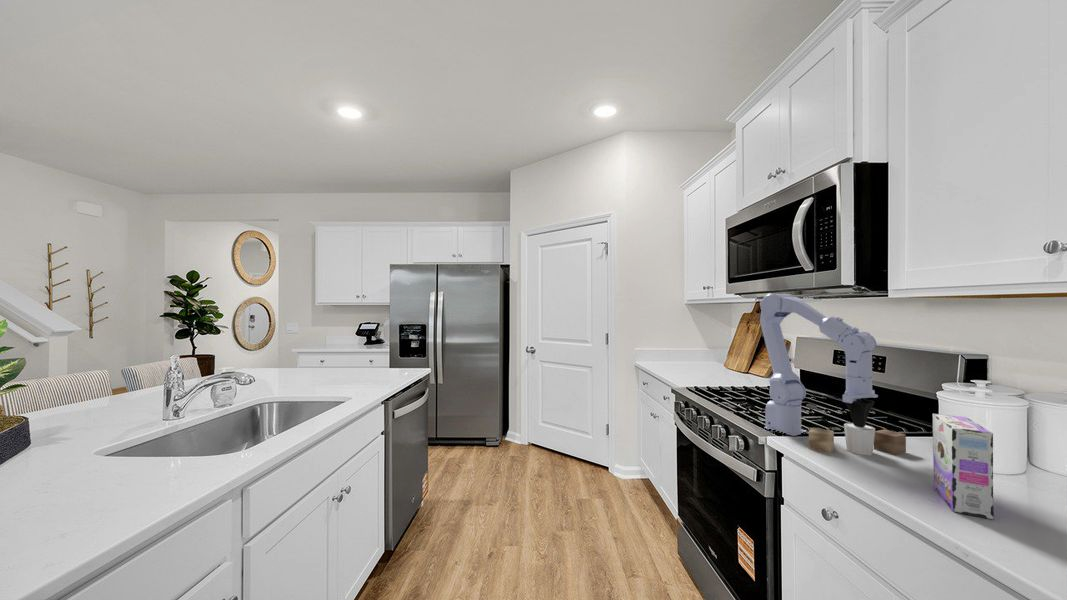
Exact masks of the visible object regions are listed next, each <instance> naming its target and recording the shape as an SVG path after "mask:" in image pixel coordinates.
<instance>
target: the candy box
mask: <svg viewBox="0 0 1067 600" xmlns="http://www.w3.org/2000/svg"><path fill="white" fill-rule="evenodd" d="M931 420H932V421H931V422H932V451H933V452H932V454H933V455H932V456H933V462H932V463H933V487H934V490H936V491H937V493H938V494H939V495H940V496H941V498H942V499H943V500H944V501H945V503H946V504H947V506H948V507H949V508H950V509H951V510H952V511H953V512H954V513H955V512H956V513H960V514H964V515H969V516H975V517H978V518H979V517H980V518H983V519H989V520H995V519H994V518H995V517H994V515H995V514H994V509H995V508H994V433H993V432H991V431H989V430H988V429H986V428H984V427H983V426H981V424H978V423H976V422H975V421H973V420H972V419H970V418H969V417H966V416H958V415H957V416H956V415H950V414H949V415H948V414H938V413H932V419H931Z"/></svg>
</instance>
